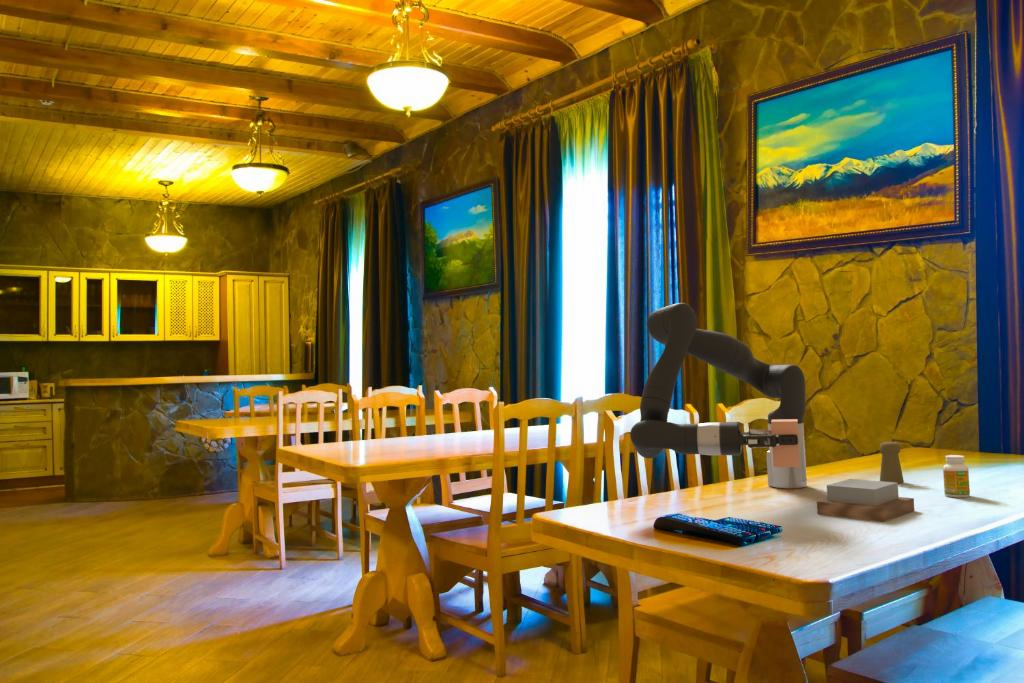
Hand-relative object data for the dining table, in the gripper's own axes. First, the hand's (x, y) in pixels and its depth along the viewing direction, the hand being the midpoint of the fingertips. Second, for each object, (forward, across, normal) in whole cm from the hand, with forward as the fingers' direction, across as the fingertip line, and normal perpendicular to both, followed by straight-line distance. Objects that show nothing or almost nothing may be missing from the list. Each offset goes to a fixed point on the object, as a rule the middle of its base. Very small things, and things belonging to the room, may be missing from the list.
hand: (797, 438), depth 178 cm
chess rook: (+24, +52, +18) cm, 60 cm away
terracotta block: (-3, 0, +6) cm, 7 cm away
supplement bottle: (+36, +31, +18) cm, 51 cm away
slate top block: (+13, +8, +15) cm, 21 cm away
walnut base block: (+14, +8, +18) cm, 24 cm away
